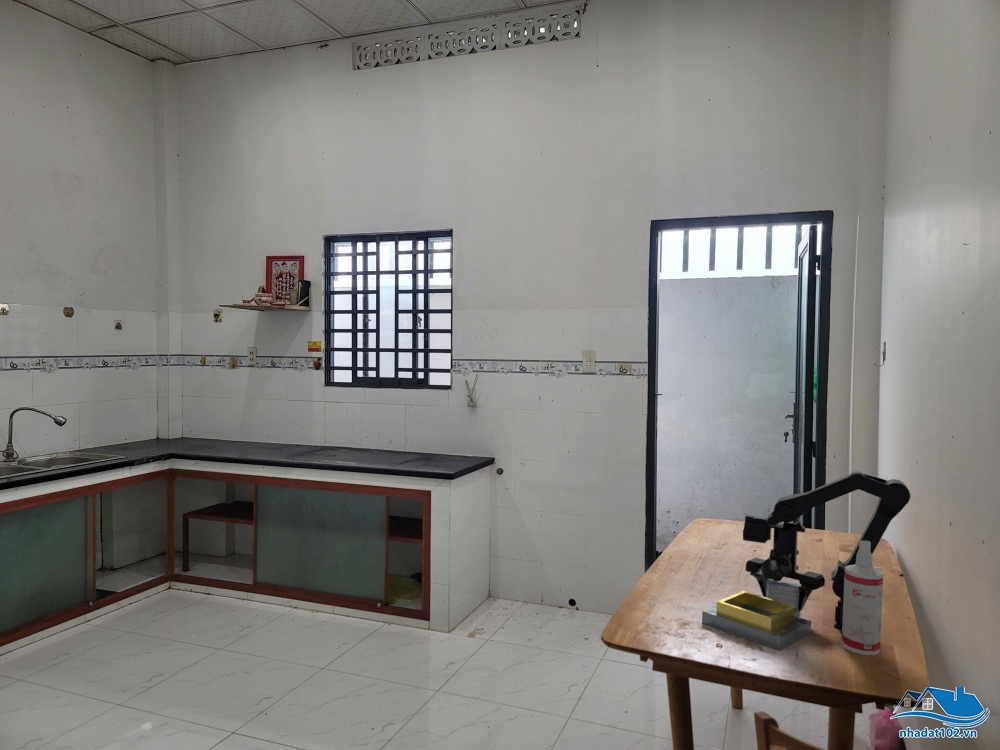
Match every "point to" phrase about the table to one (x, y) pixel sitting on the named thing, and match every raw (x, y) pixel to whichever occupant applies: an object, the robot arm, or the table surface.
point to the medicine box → (784, 592)
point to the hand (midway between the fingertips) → (782, 605)
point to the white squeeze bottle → (862, 604)
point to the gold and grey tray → (758, 620)
